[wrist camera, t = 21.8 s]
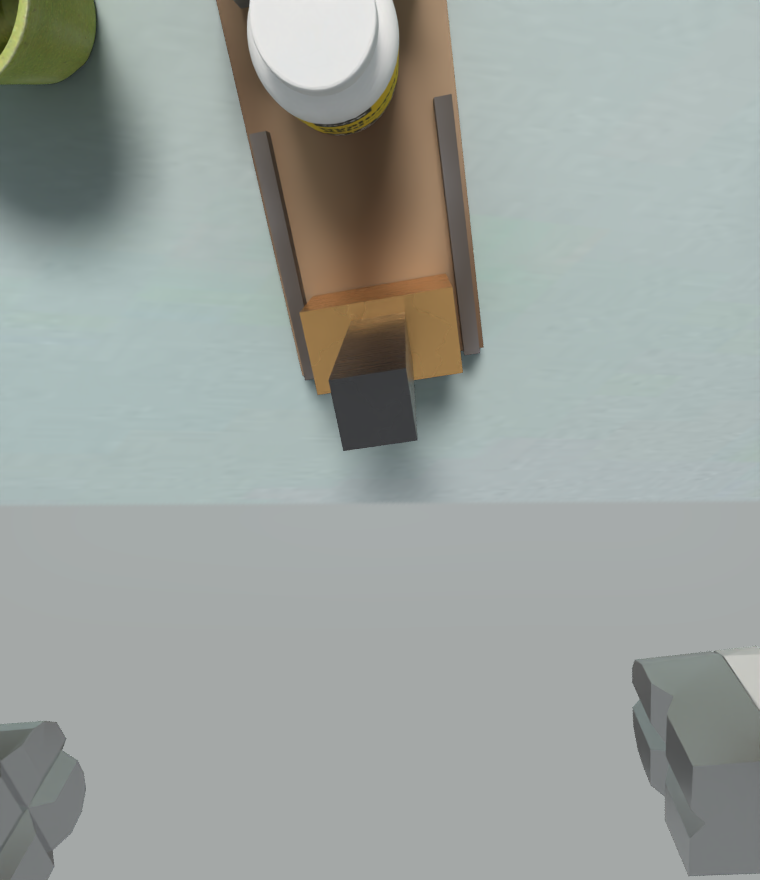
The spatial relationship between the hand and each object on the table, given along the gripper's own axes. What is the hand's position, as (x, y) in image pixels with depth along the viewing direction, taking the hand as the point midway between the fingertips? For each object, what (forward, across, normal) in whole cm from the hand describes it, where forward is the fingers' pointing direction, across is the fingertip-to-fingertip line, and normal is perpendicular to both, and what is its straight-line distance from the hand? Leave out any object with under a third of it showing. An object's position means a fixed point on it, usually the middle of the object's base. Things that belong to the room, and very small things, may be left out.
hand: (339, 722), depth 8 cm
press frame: (+27, 0, -8) cm, 28 cm away
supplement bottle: (+26, 0, -12) cm, 28 cm away
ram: (+25, 0, 0) cm, 25 cm away
